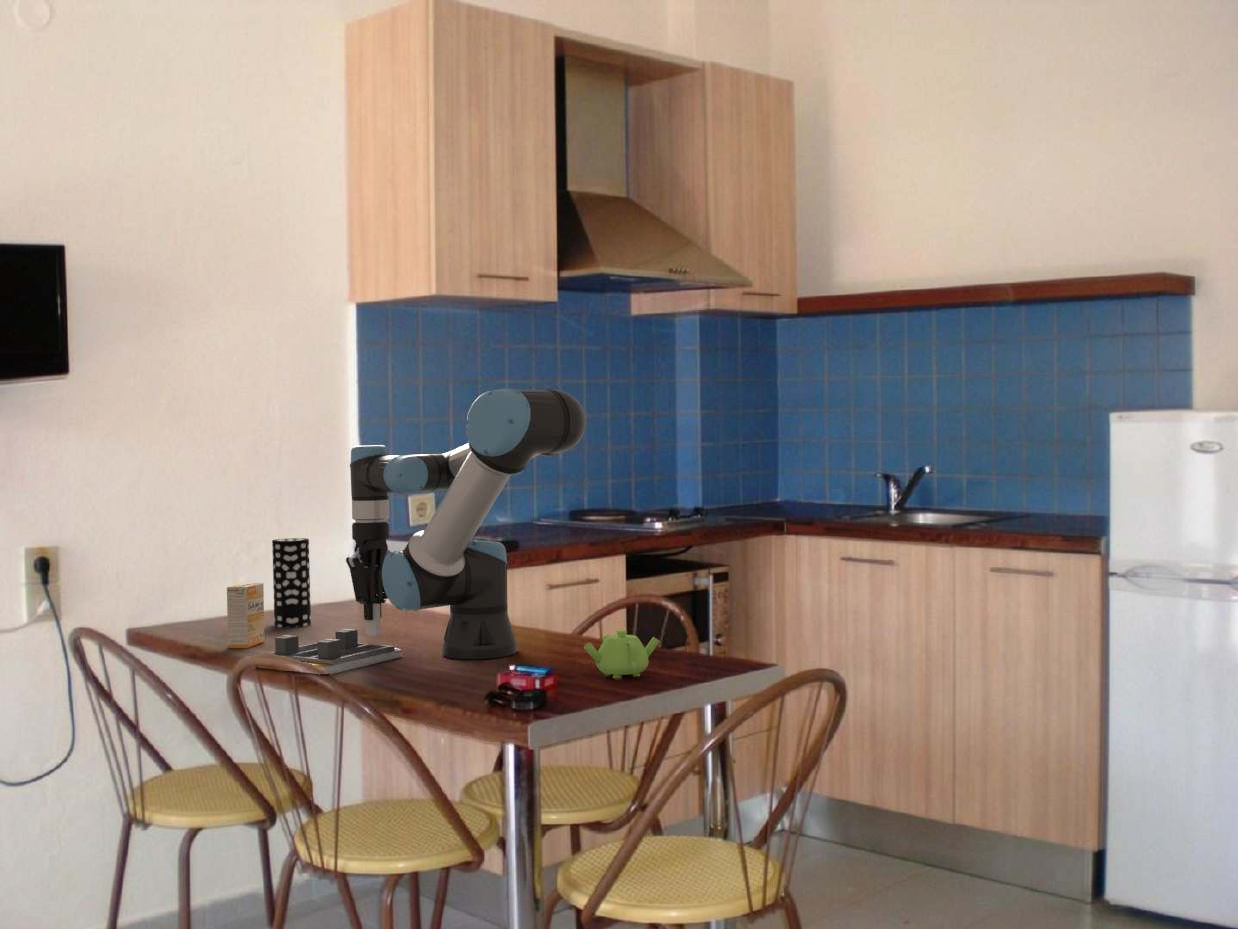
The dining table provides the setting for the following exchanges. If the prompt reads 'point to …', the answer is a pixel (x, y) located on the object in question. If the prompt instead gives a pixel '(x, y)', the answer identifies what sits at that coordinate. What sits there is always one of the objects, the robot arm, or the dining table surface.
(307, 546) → the spotted tube
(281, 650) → the breaker
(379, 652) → the panel
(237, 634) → the supplement box
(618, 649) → the teapot
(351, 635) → the breaker mid
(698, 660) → the dining table surface
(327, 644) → the breaker
